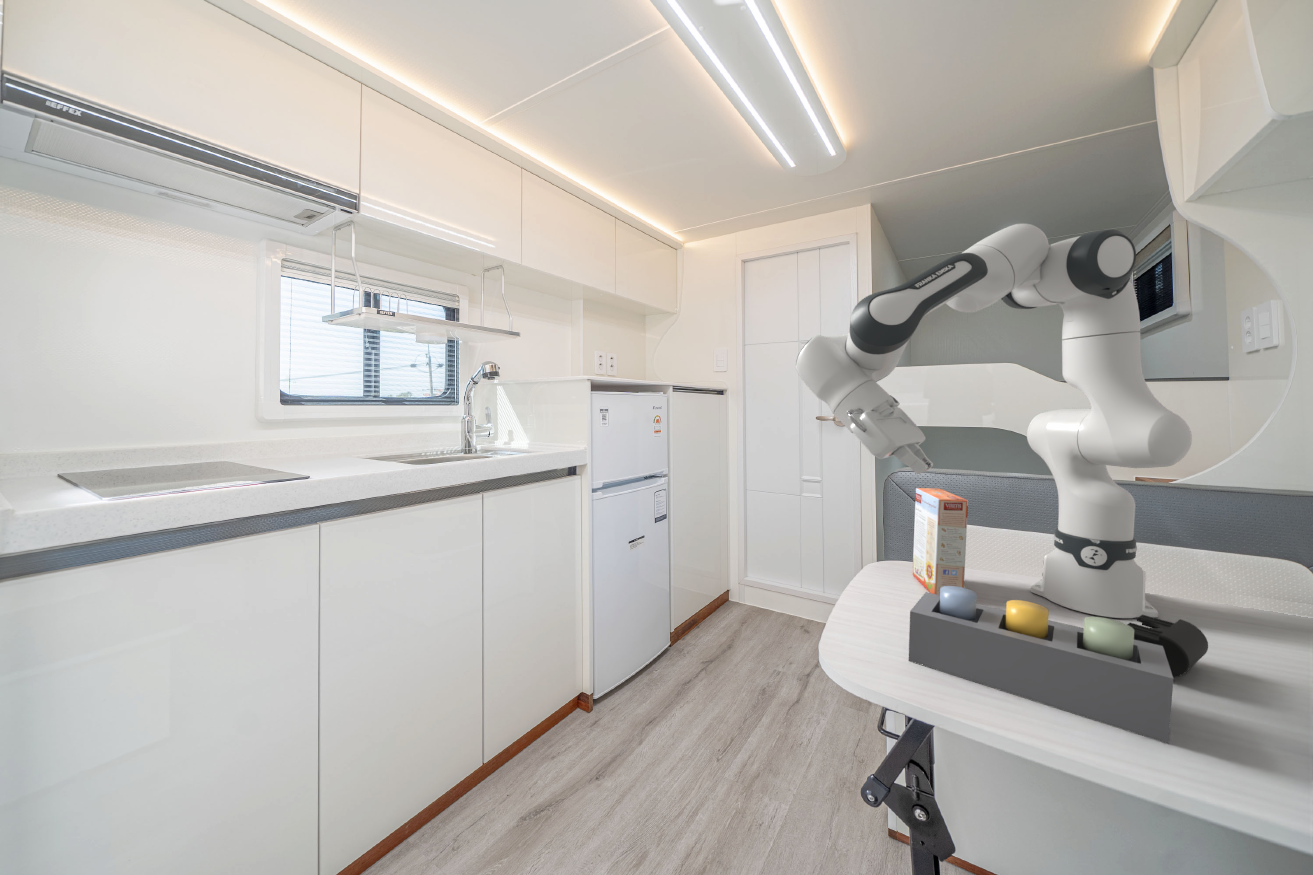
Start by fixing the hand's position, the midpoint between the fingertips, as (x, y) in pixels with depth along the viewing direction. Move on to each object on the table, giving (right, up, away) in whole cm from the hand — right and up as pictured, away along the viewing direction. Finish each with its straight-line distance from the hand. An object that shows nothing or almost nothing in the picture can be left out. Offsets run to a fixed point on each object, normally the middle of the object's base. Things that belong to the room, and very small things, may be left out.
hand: (926, 470), depth 78 cm
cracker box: (+17, -28, +27) cm, 42 cm away
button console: (+9, -30, -9) cm, 33 cm away
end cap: (+33, -30, -5) cm, 45 cm away
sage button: (+16, -23, -15) cm, 31 cm away
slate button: (+3, -22, -4) cm, 23 cm away
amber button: (+9, -22, -9) cm, 26 cm away
